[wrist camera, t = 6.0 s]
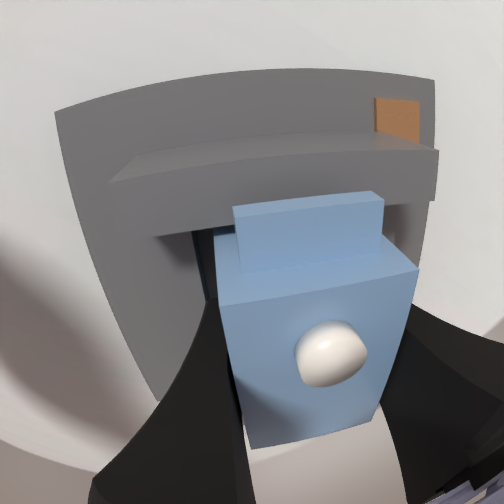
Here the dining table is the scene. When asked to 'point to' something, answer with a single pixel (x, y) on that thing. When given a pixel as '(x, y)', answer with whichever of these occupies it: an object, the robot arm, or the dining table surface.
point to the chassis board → (232, 179)
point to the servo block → (310, 312)
